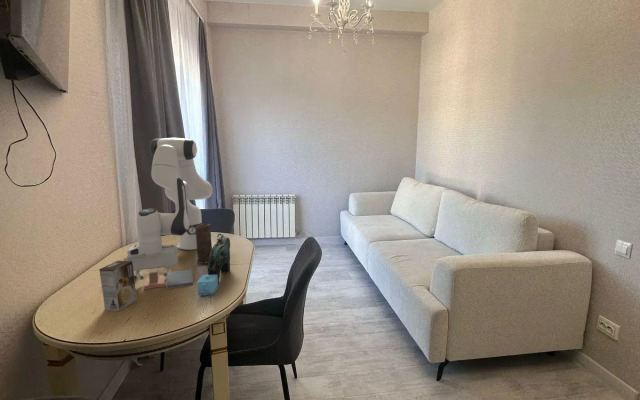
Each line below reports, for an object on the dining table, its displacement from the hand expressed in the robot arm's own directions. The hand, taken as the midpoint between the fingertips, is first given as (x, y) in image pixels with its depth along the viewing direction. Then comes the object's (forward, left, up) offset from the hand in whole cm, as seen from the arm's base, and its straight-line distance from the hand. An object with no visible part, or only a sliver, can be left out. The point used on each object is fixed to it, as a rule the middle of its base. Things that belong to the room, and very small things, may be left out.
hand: (154, 277), depth 143 cm
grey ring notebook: (0, +10, -3) cm, 11 cm away
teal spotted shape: (+5, +28, -3) cm, 28 cm away
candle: (-18, +22, -3) cm, 29 cm away
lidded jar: (-12, -12, -3) cm, 17 cm away
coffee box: (+17, -10, -3) cm, 20 cm away
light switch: (0, +1, -3) cm, 3 cm away
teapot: (+20, +21, -3) cm, 29 cm away
